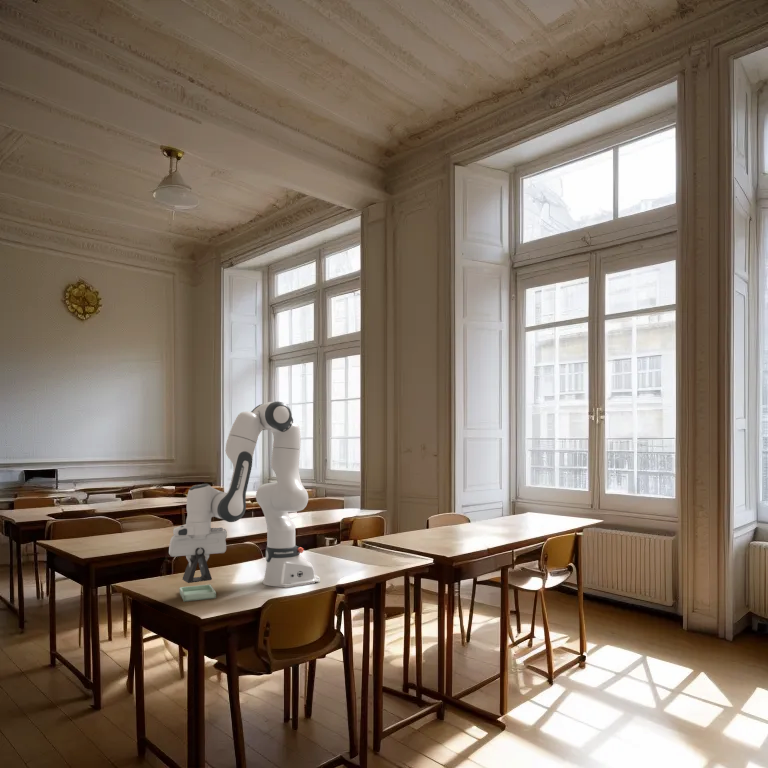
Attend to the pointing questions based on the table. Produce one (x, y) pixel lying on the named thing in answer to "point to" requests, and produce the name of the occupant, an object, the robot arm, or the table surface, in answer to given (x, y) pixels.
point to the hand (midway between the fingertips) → (197, 567)
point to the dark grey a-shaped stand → (191, 570)
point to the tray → (197, 592)
